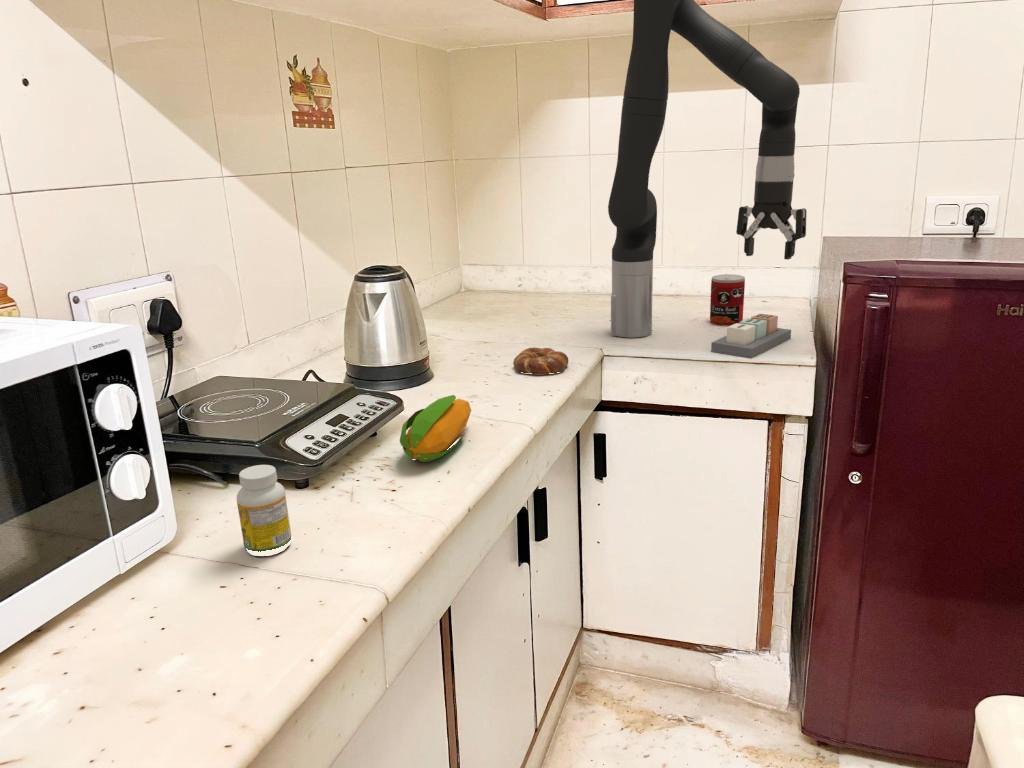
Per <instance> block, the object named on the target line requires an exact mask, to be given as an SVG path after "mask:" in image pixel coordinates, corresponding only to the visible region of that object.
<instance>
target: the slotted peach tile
mask: <svg viewBox="0 0 1024 768" xmlns="http://www.w3.org/2000/svg"><path fill="white" fill-rule="evenodd" d="M750 319H758V320H766V321H767V327H766V334H771V333H774V332H776V331H777V328H778V320H779V316H778V315H775V314H774V315H773V314H768V313H767V314H765V313H757V314H755V315H753V316H751V317H750Z"/></svg>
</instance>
